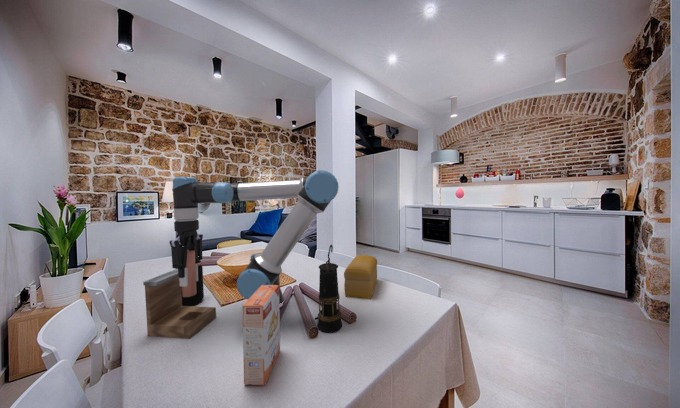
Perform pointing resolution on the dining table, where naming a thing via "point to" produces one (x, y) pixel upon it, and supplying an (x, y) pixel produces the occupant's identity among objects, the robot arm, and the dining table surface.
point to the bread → (361, 277)
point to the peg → (190, 275)
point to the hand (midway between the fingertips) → (189, 283)
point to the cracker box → (261, 334)
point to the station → (172, 309)
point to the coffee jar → (199, 288)
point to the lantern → (329, 298)
